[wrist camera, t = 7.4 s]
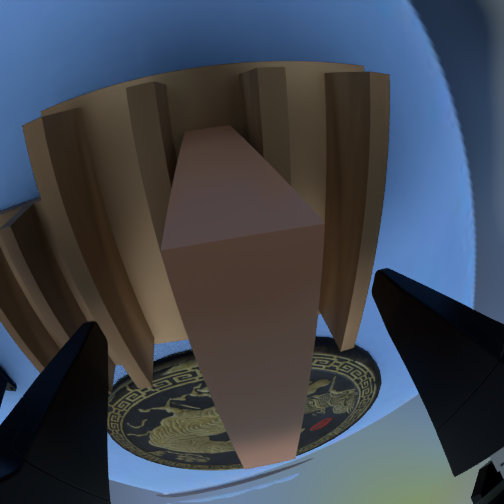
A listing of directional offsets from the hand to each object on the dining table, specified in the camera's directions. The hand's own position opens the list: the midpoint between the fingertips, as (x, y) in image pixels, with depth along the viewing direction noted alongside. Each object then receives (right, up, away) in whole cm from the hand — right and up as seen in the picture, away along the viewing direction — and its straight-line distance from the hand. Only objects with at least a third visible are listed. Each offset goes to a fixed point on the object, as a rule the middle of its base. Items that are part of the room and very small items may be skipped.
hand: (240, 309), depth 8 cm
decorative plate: (0, -17, +19) cm, 25 cm away
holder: (-12, -1, +6) cm, 13 cm away
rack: (-1, +3, +5) cm, 6 cm away
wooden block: (-1, +3, +5) cm, 6 cm away
